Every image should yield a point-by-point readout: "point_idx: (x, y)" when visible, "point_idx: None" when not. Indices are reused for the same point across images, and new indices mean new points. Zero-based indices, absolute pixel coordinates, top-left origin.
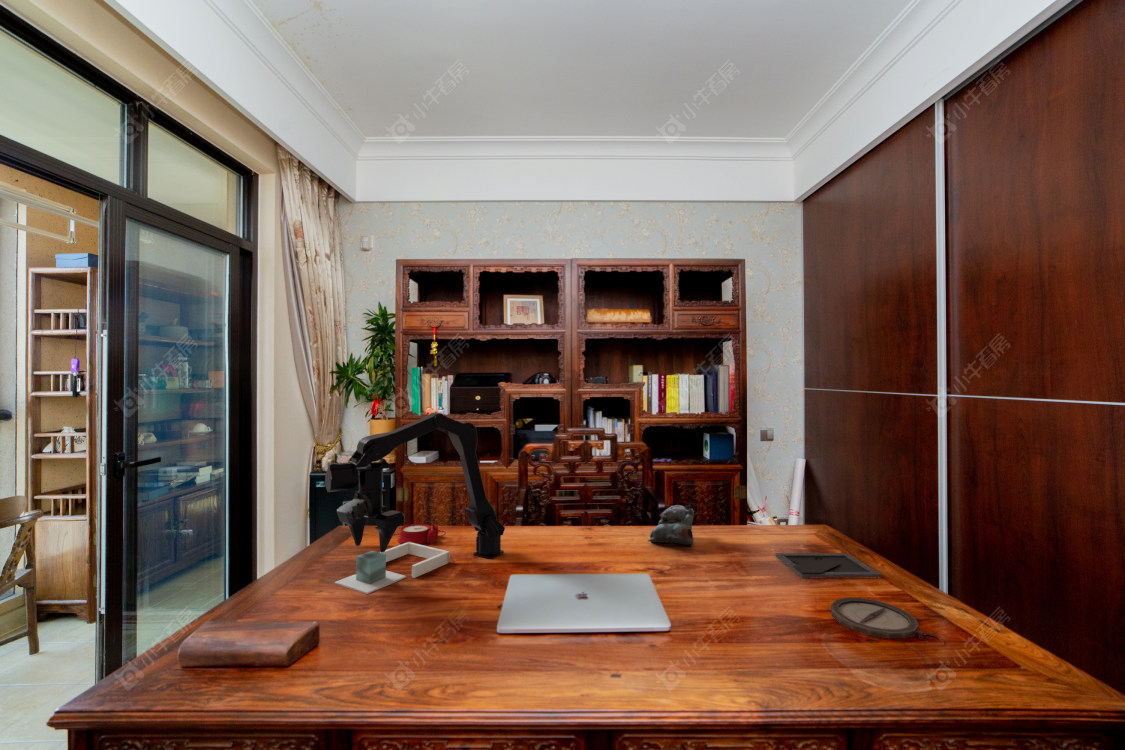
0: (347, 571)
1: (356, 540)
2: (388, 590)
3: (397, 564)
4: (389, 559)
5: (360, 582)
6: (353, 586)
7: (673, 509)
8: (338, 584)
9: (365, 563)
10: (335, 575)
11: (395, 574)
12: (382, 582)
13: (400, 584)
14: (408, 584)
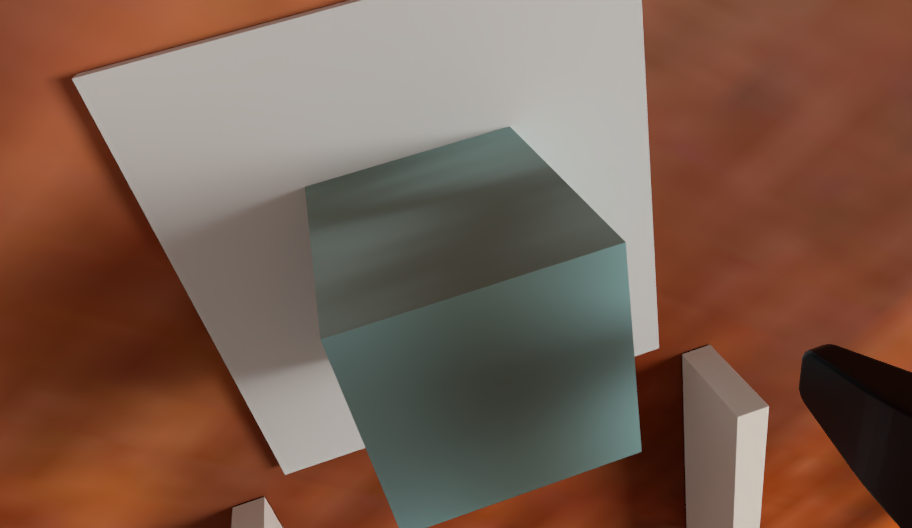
0: (783, 156)
1: (883, 408)
2: (65, 279)
3: (584, 478)
4: (690, 464)
5: (419, 136)
6: (362, 33)
7: None
8: None
9: (402, 271)
10: (802, 32)
11: None
12: (268, 295)
13: (158, 398)
14: (114, 444)
